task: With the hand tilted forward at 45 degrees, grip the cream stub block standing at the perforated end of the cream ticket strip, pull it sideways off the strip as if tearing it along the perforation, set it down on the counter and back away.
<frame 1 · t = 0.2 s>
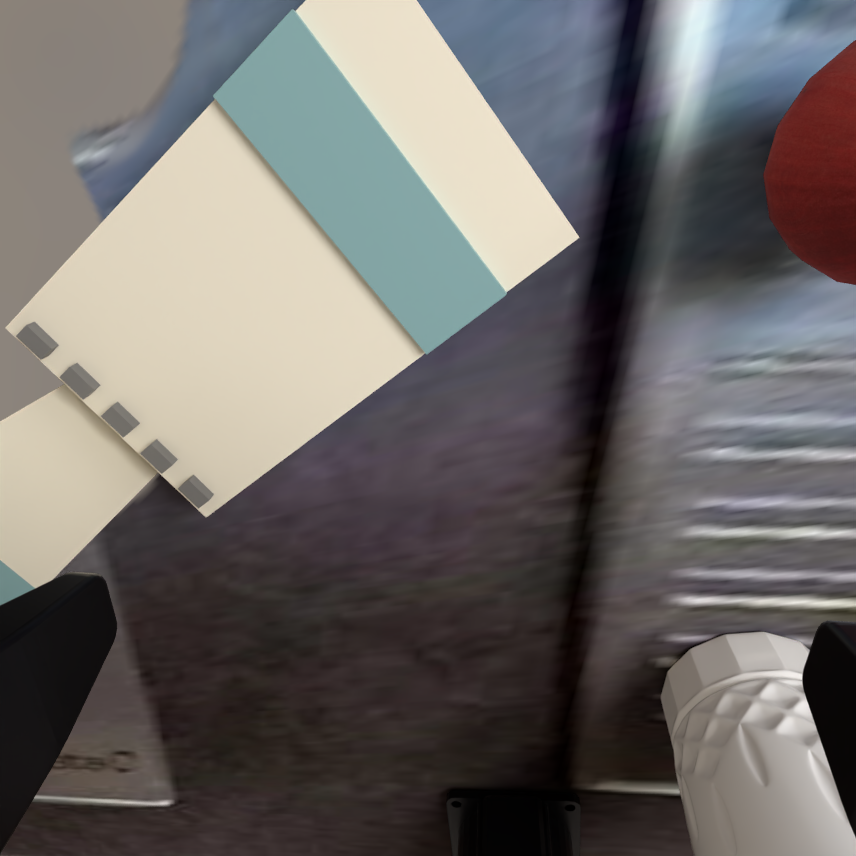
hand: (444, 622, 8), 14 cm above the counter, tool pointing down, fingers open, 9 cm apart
white cup: (740, 685, 27), on the counter
onion: (827, 154, 18), on the counter
stub: (86, 454, 24), on the counter
ticket strip: (289, 272, 20), on the counter
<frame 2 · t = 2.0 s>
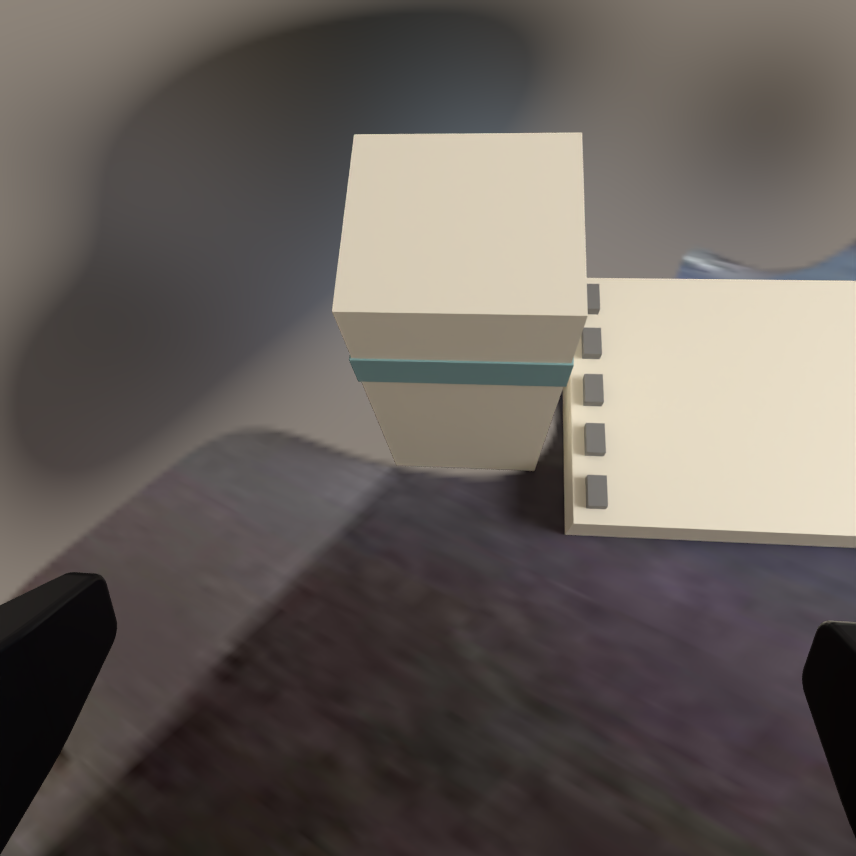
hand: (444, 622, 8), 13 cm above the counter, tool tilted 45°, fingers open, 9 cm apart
stub: (467, 410, 23), on the counter
ticket strip: (789, 419, 22), on the counter
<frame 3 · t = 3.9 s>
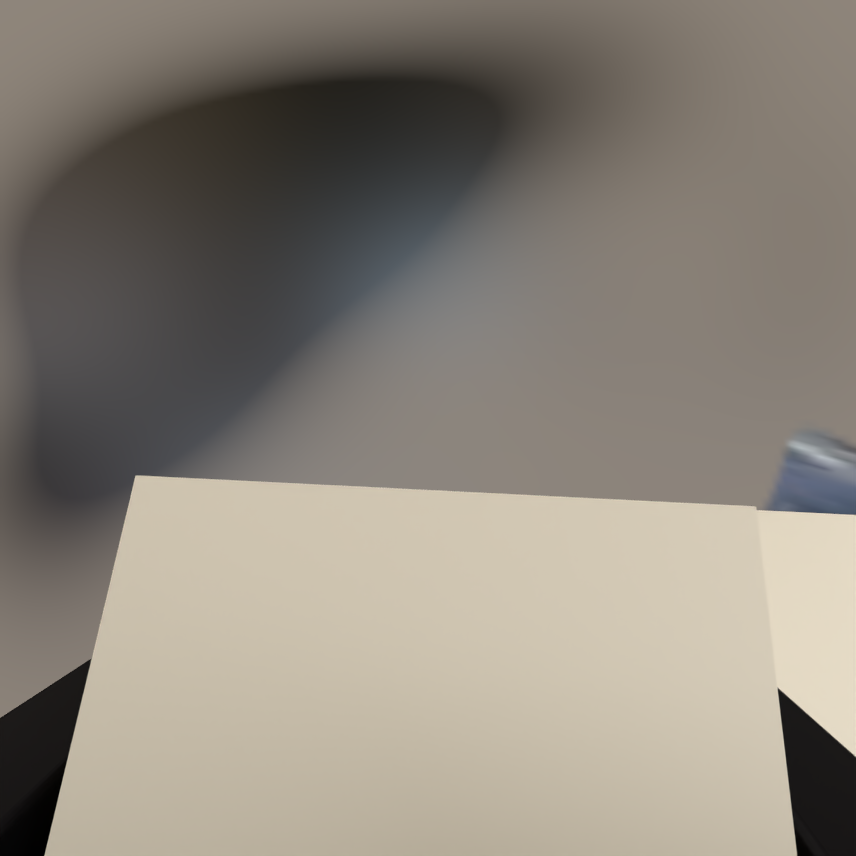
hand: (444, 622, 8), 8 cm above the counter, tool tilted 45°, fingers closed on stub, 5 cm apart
stub: (453, 702, 14), on the counter, touching gripper
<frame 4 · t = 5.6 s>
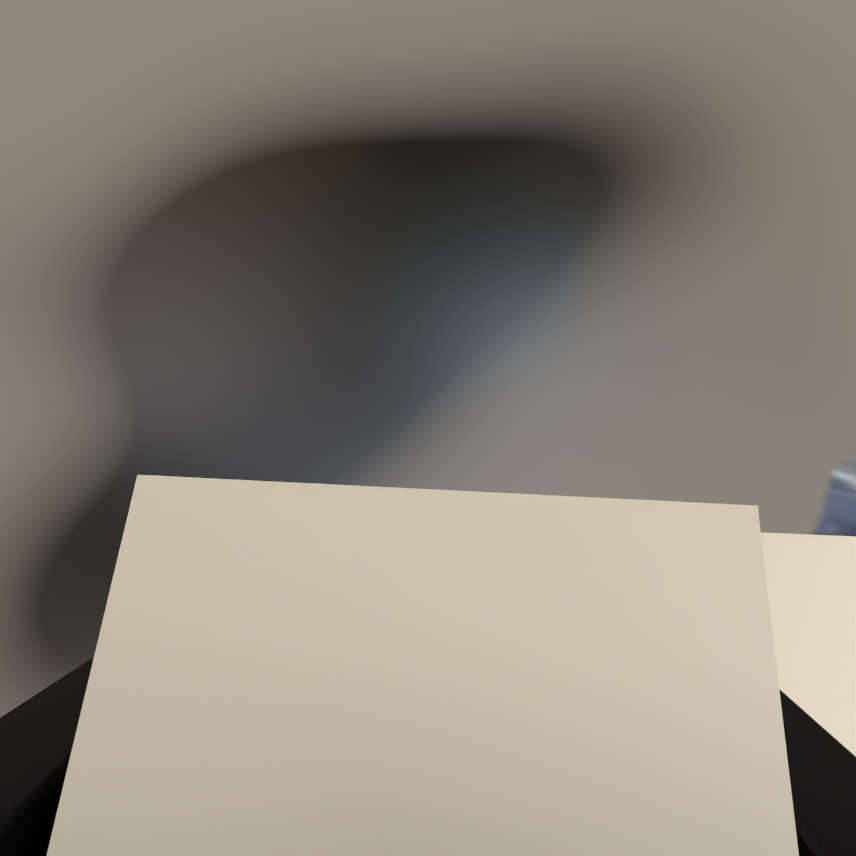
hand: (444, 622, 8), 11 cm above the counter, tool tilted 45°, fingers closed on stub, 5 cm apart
stub: (454, 702, 14), point 3 cm above the counter, touching gripper
when the fingers open (8 cm above the counter, at t = 7.5 s): stub stays where it is, on the counter.
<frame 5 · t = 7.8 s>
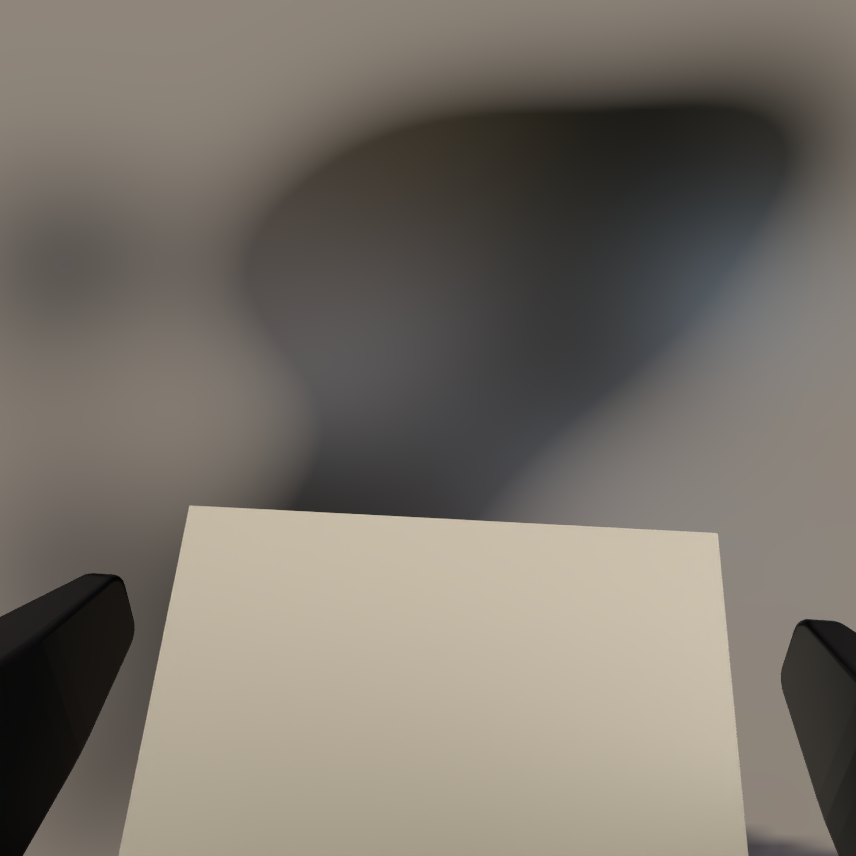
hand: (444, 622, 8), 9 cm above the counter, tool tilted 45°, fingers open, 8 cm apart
stub: (456, 700, 15), on the counter
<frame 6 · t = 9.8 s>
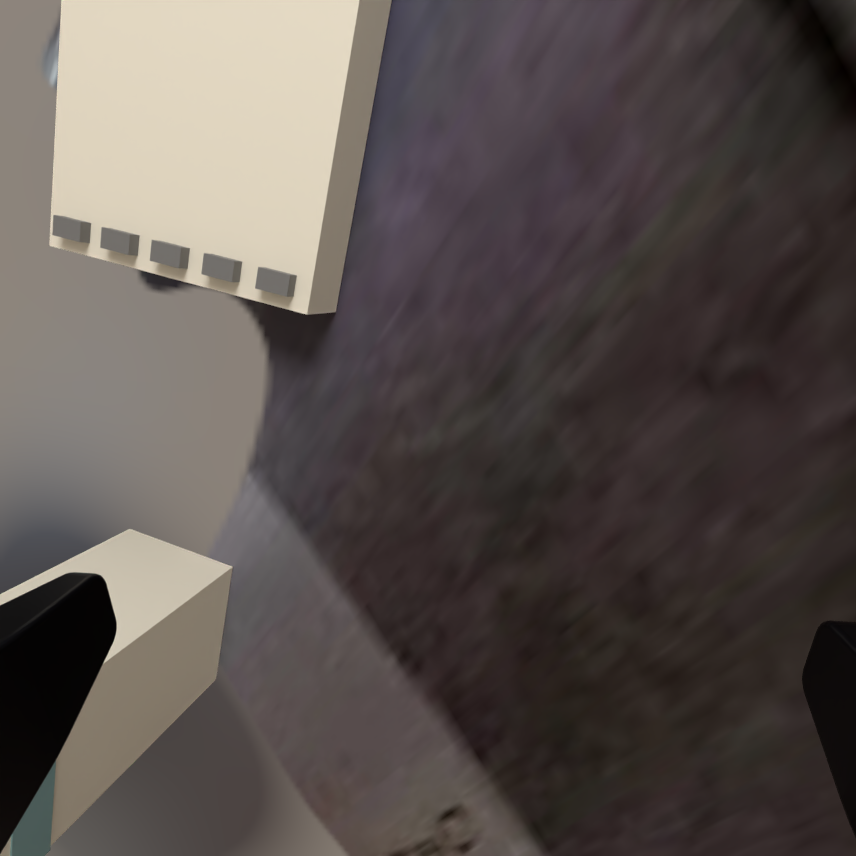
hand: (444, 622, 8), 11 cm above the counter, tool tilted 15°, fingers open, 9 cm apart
stub: (173, 604, 24), on the counter
ticket strip: (244, 6, 18), on the counter
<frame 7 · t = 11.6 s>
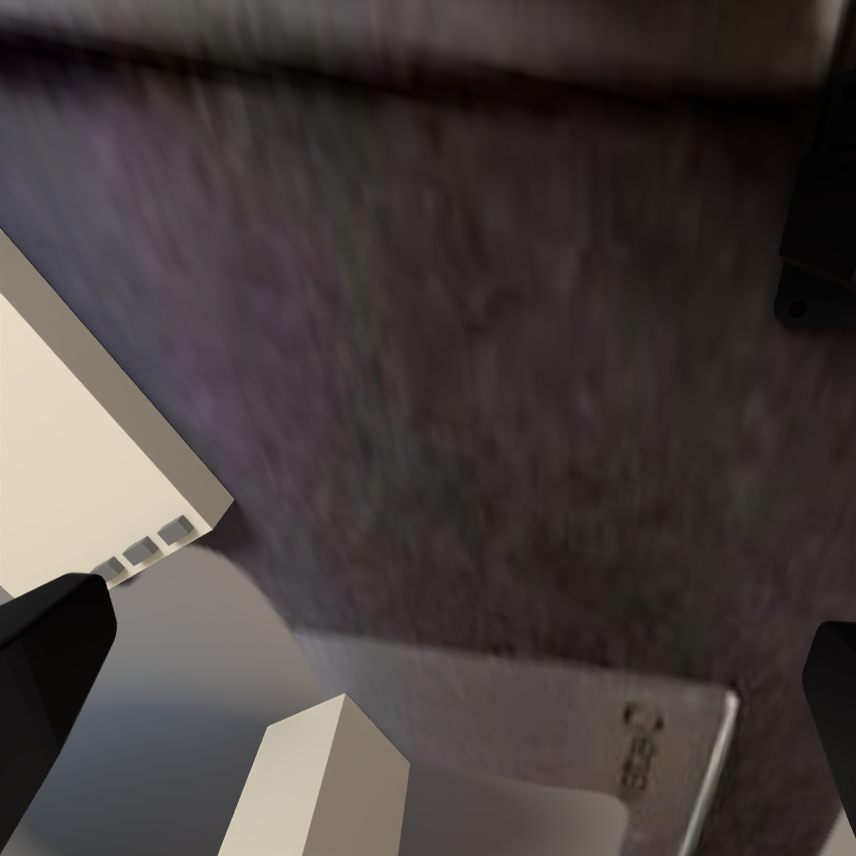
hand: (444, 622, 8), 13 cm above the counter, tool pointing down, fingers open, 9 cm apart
stub: (339, 745, 28), on the counter
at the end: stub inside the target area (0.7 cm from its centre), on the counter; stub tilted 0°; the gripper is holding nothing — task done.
